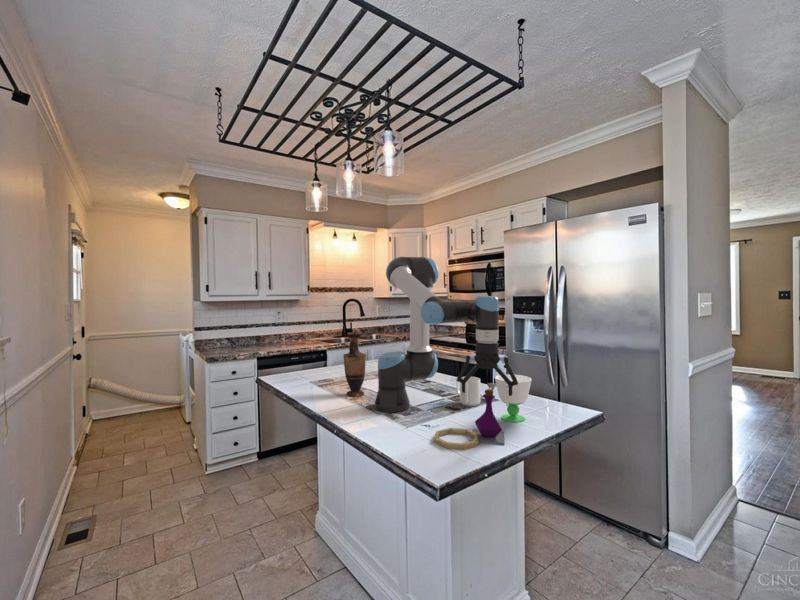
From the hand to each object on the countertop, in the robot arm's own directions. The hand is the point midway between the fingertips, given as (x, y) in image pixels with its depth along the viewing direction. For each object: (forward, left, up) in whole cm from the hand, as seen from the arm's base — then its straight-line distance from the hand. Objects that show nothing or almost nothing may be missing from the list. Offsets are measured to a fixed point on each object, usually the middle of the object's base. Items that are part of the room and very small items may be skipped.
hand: (486, 403), depth 134 cm
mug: (-10, +39, -12) cm, 42 cm away
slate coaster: (0, 0, -12) cm, 12 cm away
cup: (+9, +22, -12) cm, 26 cm away
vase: (-64, +42, -12) cm, 77 cm away
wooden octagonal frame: (-10, -5, -12) cm, 16 cm away
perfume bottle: (0, 0, -11) cm, 11 cm away
